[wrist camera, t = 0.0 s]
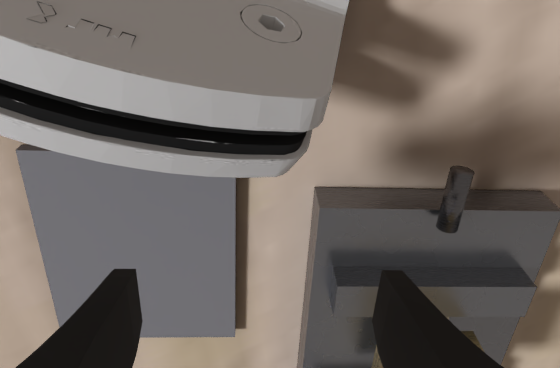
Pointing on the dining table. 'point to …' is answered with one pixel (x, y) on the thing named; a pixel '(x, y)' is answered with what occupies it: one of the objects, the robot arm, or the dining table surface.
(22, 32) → the hinge
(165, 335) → the mat
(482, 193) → the vise
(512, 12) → the dining table surface
